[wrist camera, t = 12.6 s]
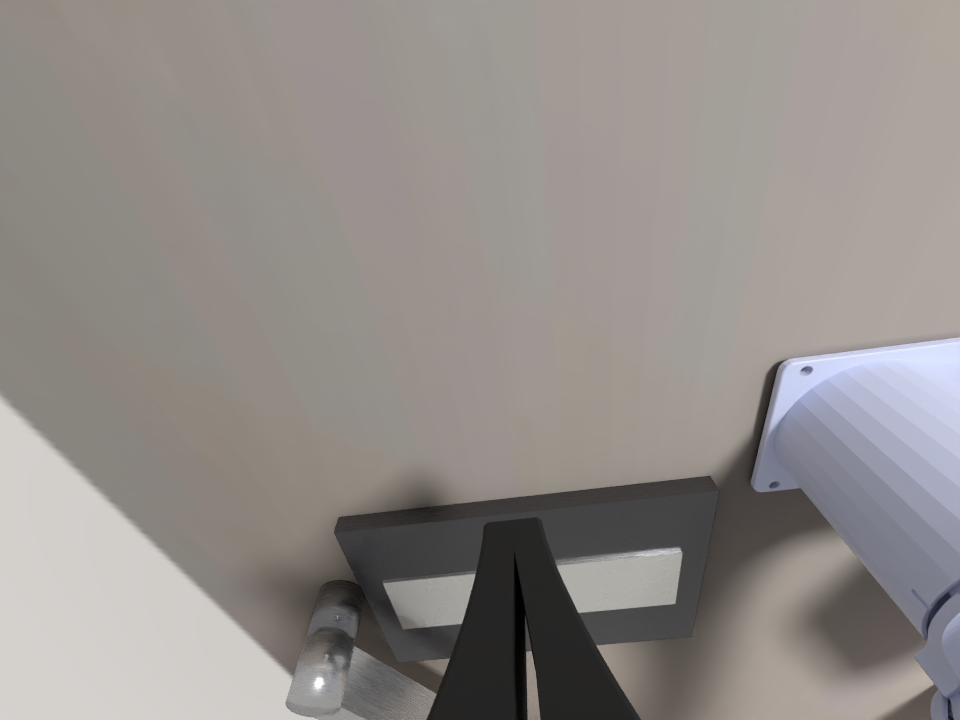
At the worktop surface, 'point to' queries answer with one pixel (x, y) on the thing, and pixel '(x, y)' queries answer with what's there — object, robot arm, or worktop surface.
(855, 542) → the robot arm
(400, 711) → the swing arm
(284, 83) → the worktop surface
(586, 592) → the panel
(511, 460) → the worktop surface
